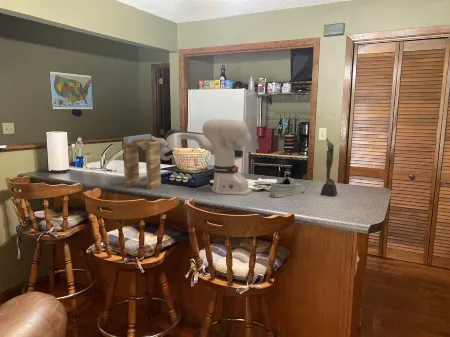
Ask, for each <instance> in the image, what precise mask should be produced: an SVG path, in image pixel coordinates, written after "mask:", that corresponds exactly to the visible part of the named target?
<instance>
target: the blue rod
mask: <svg viewBox="0 0 450 337" xmlns="http://www.w3.org/2000/svg"><path fill="white" fill-rule="evenodd" d="M151 136H152V134H151V133H149V134H148V133H147V134H140V135H139V134H138V135H137V134H136V135H130V136H124V137H123V139H122V140H123V142H124V143H131V142H133V140H140V139H144V140H150V137H151Z"/></svg>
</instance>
